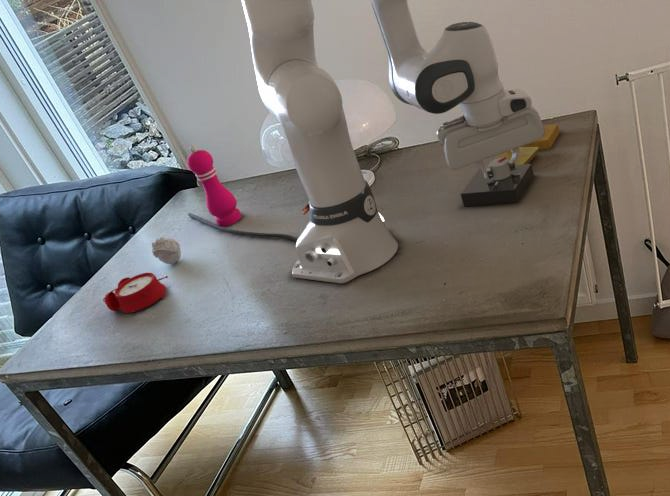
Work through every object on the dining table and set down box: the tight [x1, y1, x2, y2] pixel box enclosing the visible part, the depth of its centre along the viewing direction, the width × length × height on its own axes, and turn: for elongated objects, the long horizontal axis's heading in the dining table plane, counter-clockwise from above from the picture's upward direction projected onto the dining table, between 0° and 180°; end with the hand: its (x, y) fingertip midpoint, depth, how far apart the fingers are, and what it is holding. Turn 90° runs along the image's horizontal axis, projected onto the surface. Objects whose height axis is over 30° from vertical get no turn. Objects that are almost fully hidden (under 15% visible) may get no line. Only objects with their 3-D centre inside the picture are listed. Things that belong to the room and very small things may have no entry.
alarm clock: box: [102, 272, 168, 314], centre depth 162 cm, size 10×6×15 cm
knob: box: [488, 156, 511, 180], centre depth 152 cm, size 4×4×3 cm
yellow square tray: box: [487, 147, 539, 168], centre depth 163 cm, size 9×9×2 cm
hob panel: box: [460, 163, 535, 208], centre depth 154 cm, size 12×11×3 cm
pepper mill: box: [186, 144, 243, 228], centre depth 180 cm, size 7×7×20 cm
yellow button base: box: [521, 122, 560, 151], centre depth 169 cm, size 11×8×4 cm
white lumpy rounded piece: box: [151, 236, 182, 265], centre depth 173 cm, size 6×7×7 cm
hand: (501, 173), depth 153 cm, fingers closed on knob, 4 cm apart
